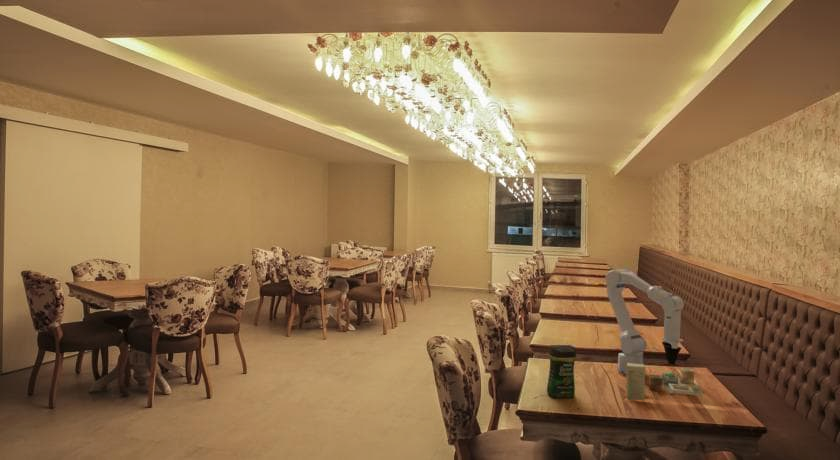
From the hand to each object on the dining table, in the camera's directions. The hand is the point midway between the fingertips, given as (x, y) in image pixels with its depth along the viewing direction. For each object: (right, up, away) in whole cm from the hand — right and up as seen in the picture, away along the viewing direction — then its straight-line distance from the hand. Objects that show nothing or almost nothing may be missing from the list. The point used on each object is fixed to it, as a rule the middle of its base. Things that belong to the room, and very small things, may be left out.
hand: (670, 362), depth 212 cm
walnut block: (-9, -10, -6) cm, 15 cm away
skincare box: (-19, -10, -13) cm, 25 cm away
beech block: (+6, -8, -2) cm, 10 cm away
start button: (0, -7, 0) cm, 7 cm away
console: (0, -8, 0) cm, 8 cm away
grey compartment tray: (+2, -10, -5) cm, 11 cm away
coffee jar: (-46, -9, -12) cm, 48 cm away
